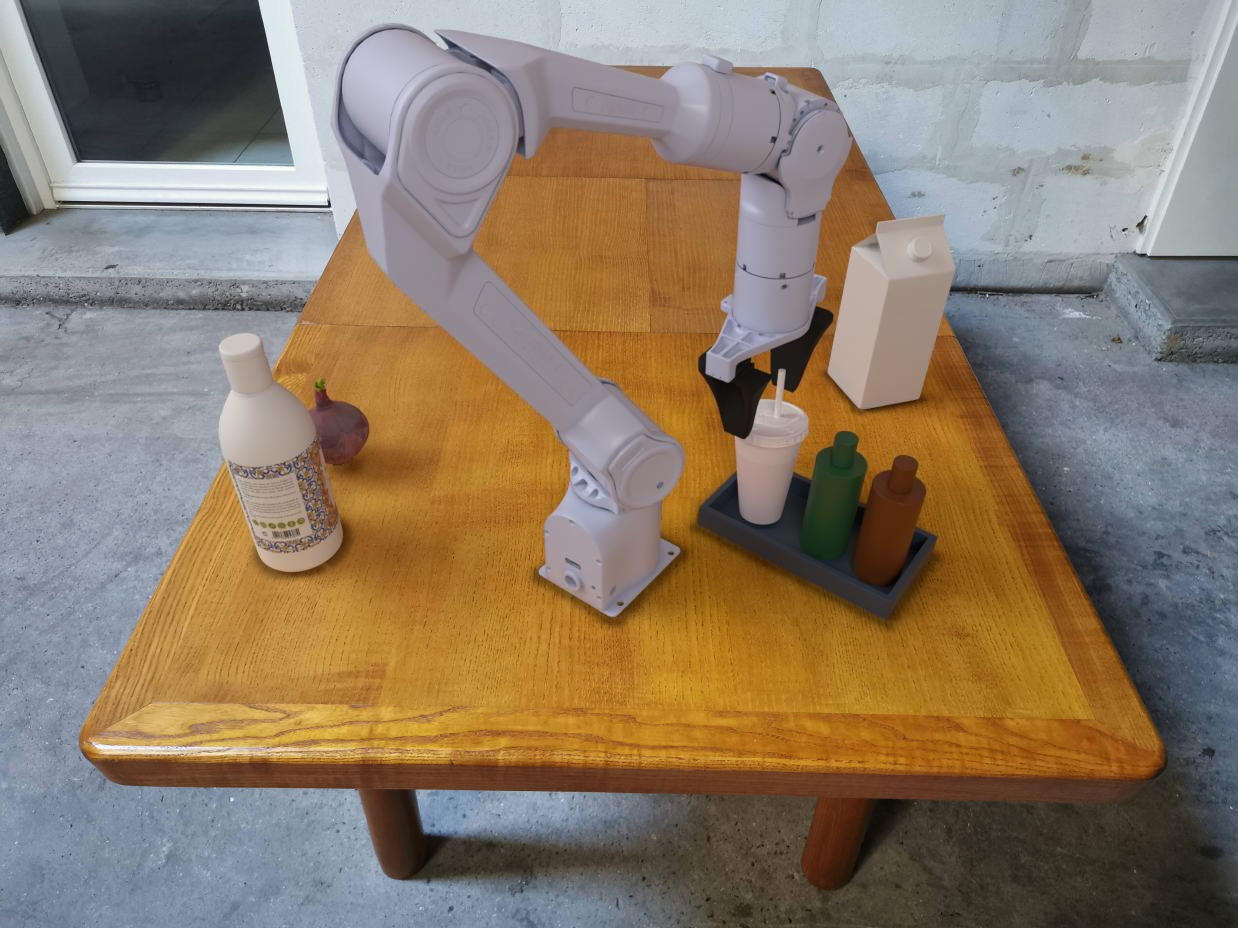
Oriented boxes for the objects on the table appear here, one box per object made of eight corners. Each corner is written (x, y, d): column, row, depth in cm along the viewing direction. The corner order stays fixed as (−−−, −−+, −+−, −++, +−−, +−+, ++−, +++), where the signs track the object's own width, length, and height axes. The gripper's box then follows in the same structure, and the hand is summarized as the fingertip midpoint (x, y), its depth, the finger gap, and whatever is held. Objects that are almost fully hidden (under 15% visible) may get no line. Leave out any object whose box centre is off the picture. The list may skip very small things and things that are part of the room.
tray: (885, 624, 69) (892, 602, 67) (696, 527, 77) (698, 506, 75) (931, 557, 74) (938, 536, 73) (750, 474, 82) (753, 453, 81)
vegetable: (295, 480, 81) (269, 390, 75) (327, 440, 86) (304, 352, 79) (356, 490, 80) (335, 400, 74) (385, 449, 85) (367, 361, 78)
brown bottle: (888, 594, 70) (921, 486, 63) (842, 571, 72) (869, 464, 65) (908, 565, 73) (942, 459, 65) (864, 544, 75) (892, 438, 67)
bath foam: (354, 556, 73) (302, 353, 61) (269, 586, 71) (196, 380, 58) (332, 507, 78) (279, 309, 65) (251, 533, 75) (179, 332, 63)
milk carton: (826, 374, 95) (858, 207, 83) (884, 364, 97) (924, 198, 85) (859, 411, 90) (898, 239, 78) (919, 400, 92) (967, 229, 80)
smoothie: (802, 534, 75) (822, 390, 67) (726, 534, 75) (738, 390, 67) (791, 490, 80) (809, 352, 72) (721, 489, 80) (730, 351, 72)
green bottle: (834, 567, 72) (859, 460, 65) (791, 546, 74) (811, 440, 67) (855, 540, 75) (882, 434, 68) (813, 520, 77) (835, 415, 70)
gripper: (778, 210, 70) (764, 353, 79) (672, 285, 61) (670, 436, 70) (859, 233, 66) (835, 380, 75) (759, 316, 58) (746, 470, 67)
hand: (761, 409), depth 73 cm, fingers open, 7 cm apart
